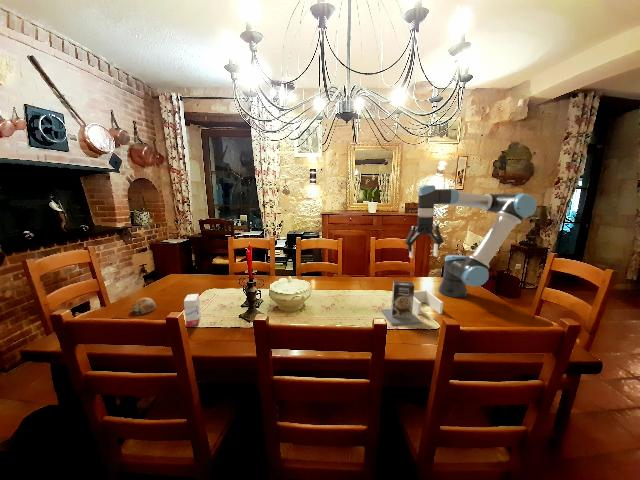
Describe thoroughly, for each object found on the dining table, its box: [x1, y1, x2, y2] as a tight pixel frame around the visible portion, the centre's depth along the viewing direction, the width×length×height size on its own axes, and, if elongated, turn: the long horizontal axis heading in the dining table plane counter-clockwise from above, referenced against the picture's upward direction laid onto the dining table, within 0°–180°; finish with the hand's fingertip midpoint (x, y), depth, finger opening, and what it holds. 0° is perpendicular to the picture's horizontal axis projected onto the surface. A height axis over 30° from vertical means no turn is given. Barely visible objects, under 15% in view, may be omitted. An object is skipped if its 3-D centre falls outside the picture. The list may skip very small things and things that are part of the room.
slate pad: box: [381, 308, 422, 326], centre depth 126 cm, size 14×14×1 cm
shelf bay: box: [412, 290, 444, 315], centre depth 137 cm, size 12×16×6 cm
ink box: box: [183, 293, 202, 327], centre depth 118 cm, size 9×5×12 cm, turn 16°
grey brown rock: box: [130, 297, 157, 315], centre depth 130 cm, size 10×10×8 cm
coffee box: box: [390, 280, 415, 319], centre depth 125 cm, size 9×6×16 cm
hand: (423, 256), depth 138 cm, fingers open, 13 cm apart
